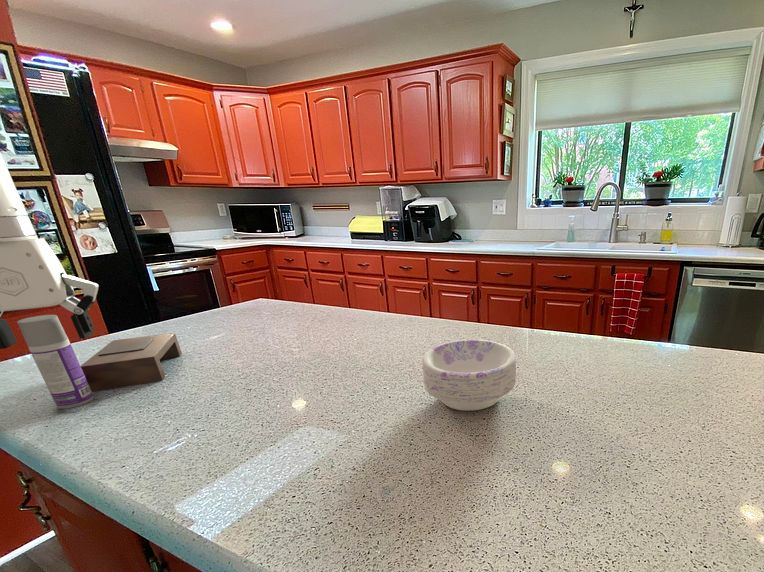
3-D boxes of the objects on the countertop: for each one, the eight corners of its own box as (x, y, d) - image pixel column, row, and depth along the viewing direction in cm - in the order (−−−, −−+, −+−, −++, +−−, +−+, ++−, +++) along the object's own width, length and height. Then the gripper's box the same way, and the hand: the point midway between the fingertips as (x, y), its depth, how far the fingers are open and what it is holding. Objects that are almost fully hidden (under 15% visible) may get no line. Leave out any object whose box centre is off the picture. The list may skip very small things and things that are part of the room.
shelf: (89, 392, 72) (78, 365, 70) (121, 362, 86) (112, 339, 84) (162, 380, 76) (153, 355, 74) (182, 353, 90) (174, 331, 88)
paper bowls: (450, 431, 57) (447, 382, 54) (411, 391, 69) (407, 349, 66) (534, 404, 64) (536, 359, 61) (485, 372, 76) (484, 333, 73)
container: (84, 394, 71) (48, 313, 66) (100, 398, 70) (64, 315, 64) (51, 406, 67) (9, 321, 61) (66, 410, 66) (25, 324, 60)
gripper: (-112, 236, 51) (-42, 358, 58) (61, 228, 58) (107, 339, 64) (-68, 232, 58) (-9, 343, 64) (84, 226, 64) (123, 327, 71)
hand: (49, 341), depth 64 cm, fingers open, 9 cm apart
